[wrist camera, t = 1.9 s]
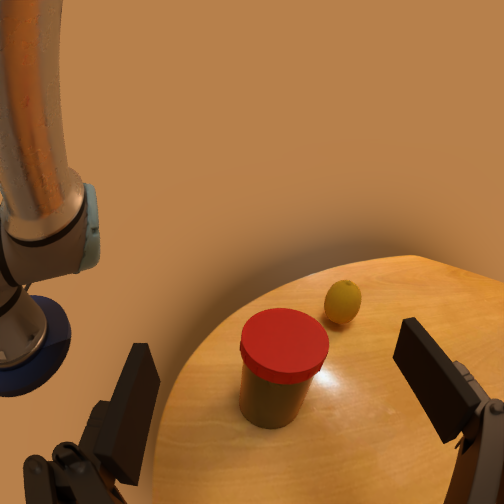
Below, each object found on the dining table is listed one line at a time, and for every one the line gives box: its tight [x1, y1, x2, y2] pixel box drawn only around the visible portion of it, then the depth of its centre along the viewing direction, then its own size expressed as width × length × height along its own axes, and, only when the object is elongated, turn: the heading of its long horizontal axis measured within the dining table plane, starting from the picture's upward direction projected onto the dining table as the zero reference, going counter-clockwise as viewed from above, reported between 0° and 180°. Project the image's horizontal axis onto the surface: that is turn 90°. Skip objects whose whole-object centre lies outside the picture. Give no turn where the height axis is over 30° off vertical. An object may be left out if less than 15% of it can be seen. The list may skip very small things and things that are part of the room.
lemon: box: [324, 280, 361, 324], centre depth 42 cm, size 6×6×8 cm
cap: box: [240, 308, 329, 385], centre depth 25 cm, size 8×8×2 cm
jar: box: [239, 361, 314, 429], centre depth 28 cm, size 7×7×12 cm
